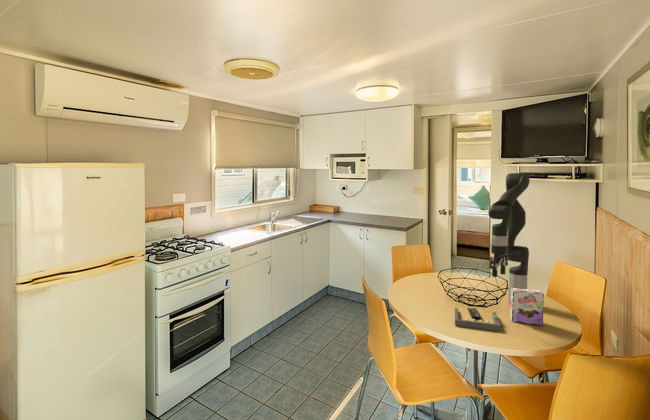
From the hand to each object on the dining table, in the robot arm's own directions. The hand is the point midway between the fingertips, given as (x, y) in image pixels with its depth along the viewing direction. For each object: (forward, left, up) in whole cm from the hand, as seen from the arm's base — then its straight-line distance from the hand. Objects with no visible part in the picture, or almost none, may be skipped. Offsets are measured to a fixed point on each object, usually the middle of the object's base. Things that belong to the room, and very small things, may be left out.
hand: (498, 275), depth 172 cm
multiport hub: (-2, -11, -24) cm, 26 cm away
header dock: (+7, -11, -23) cm, 26 cm away
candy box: (-2, +13, -24) cm, 27 cm away
